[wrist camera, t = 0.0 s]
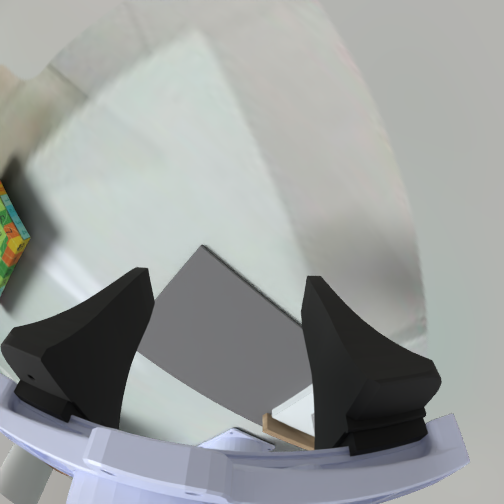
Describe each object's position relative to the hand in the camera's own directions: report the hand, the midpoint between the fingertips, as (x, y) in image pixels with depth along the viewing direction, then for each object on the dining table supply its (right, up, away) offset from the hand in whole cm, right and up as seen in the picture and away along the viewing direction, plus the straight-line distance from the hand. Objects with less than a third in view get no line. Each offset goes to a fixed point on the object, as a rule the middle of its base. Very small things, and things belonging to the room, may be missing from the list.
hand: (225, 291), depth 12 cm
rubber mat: (+3, -12, +15) cm, 20 cm away
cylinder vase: (-56, -50, +30) cm, 81 cm away
